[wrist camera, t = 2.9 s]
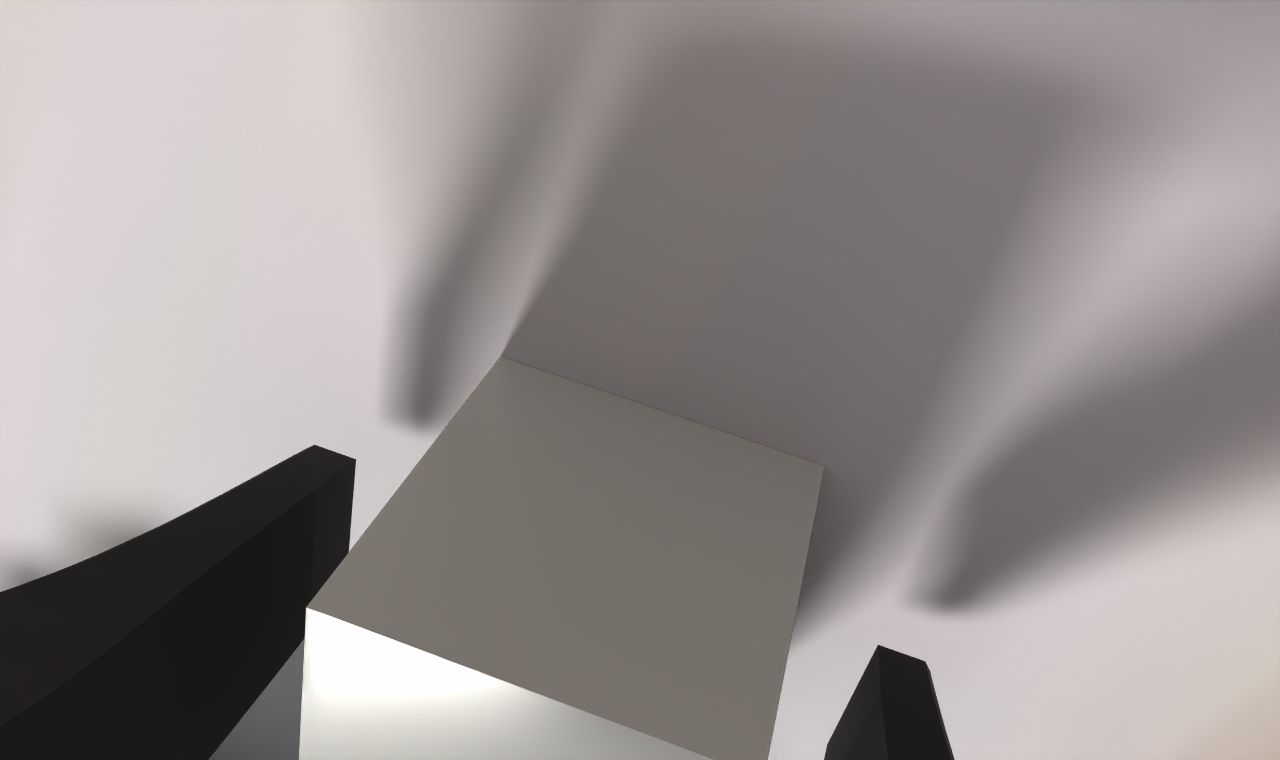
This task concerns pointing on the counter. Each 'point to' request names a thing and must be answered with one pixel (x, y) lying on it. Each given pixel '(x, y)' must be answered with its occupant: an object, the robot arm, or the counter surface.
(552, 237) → the counter surface
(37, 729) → the robot arm
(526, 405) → the grey block
